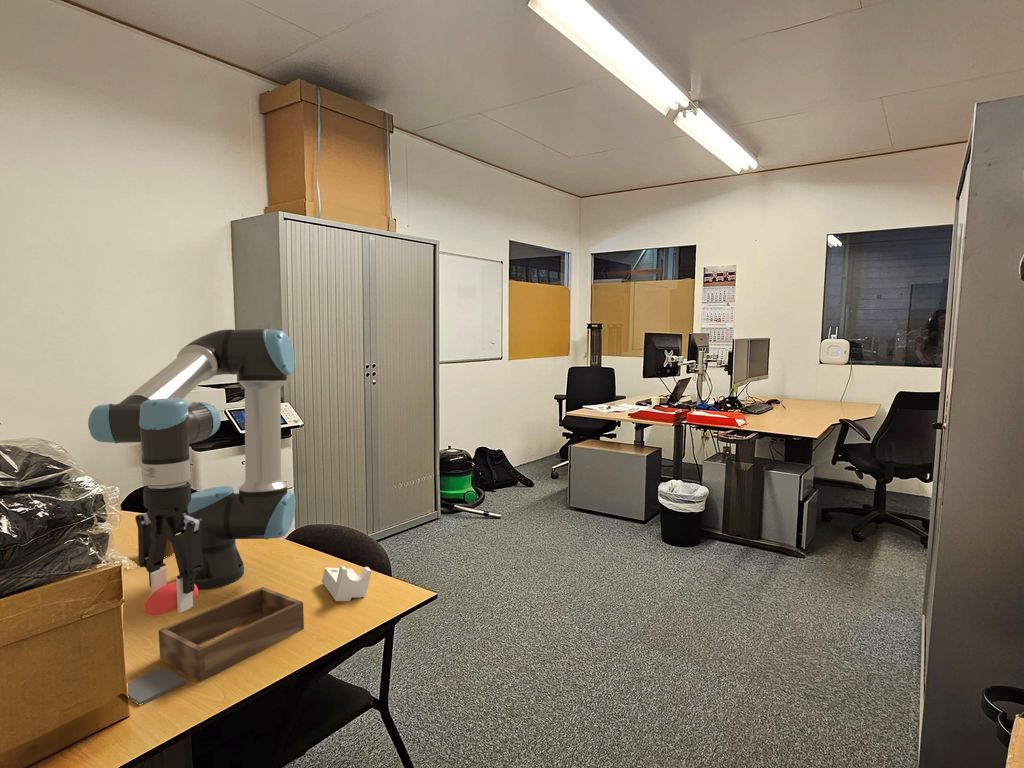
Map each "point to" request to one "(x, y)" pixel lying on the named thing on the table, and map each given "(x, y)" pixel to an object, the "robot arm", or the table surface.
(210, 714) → the table surface
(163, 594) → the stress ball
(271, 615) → the walnut box
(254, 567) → the table surface
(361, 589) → the bracket
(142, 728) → the table surface
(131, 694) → the slate mat
